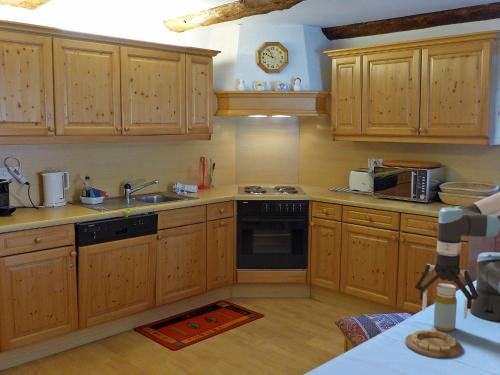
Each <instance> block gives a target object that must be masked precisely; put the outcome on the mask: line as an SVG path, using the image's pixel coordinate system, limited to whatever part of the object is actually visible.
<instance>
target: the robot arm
mask: <svg viewBox="0 0 500 375" xmlns="http://www.w3.org/2000/svg"><path fill="white" fill-rule="evenodd" d="M499 216H500V191H499V192H496V193H494V194H492V195H490V196H487V197H485V198H482V199H481V200H478V201H475V202H473V203H471V204H468V205H465V206H455V207H448V206H447V207H442V208H440V210H439V213H438V219H437V224H438V226H437V242H436V252H437V253H436V256H435V257H436V258H435V265H433V264H431V263H430V262H429V263H427V264H426V266H425V271H424V272H423V274H422V275H421V277H420V278H419V280H418V281H417V283H416V284H415V287H414V289H416V290H418V291H419V300H420V301H422V305H421V306H422V307H421V310H422V311H424V312H425V311H426V310H427V302H428V290H427V289H428V288H429V287H430V286H431V285H432V284H433V283H435V281H437V280H438V279H440V280H441V281H448V282H454V284H456V287H458V288H459V290H460V291H461V293H462V294H463V296H464V297H465V299H464V305H463V307H464V308H463V319H465V320H467V318H468V312H469V313H471V314H472V315H473V316H475V317H477V318H479V319H483V320H487V321H488V320H489V321H494V322H500V252H495V251H493V252H491V251H490V252H489V251H488V252H487V251H486V252H481V253H480V252H479V254H478V255H477V261H476V264H477V265H476V280H475V281H476V282H475V284H476V285H475V284H474V283H473V280H472V278H471V276H470V275H471V274H470V270H469V269H468V268H466V269H460V263H461V261H460V260H461V255H460V254H461V247H462V237H464V238H465V237H466V238H467V237H471V238H472V237H473V238H474V237H475V238H490V237H491V238H492V237H496V236H497V235H498V234H499V232H500V220H499V218H498V217H499ZM433 270H434V272H435V273H436V274H435V275H434V276H433V277H432V278H431V279H430V280H428V282H426V283H424V285H423V286H422V284H423V282H424V281H425V279H426V278H427V276H428V275H429V273H430V272H432V271H433ZM460 274H461V275H462V277H463V278H464V280H465V282H466V285H467V287H468V288H467V287H466V286H465V284H464V283H463V282H462V280H461V279H460V277H459V275H460ZM474 285H475V286H474ZM468 310H469V311H468Z"/></svg>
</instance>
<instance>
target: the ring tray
mask: <svg viewBox="0 0 500 375" xmlns="http://www.w3.org/2000/svg"><path fill="white" fill-rule="evenodd" d="M404 342H405V343H404V344H405V346H406V347H407V349H409V350H410V351H412V352H414V353H416V354H419V355H422V356H424V357H428V358H429V357H430V358H436V359H447V358H448V359H450V358H454V357H457V356H460V354H462V350H463V346H462V344H461V343H460V342H459V341H458V340H457V339H455V338H454V337H453V336H452V335H450V334H448V333H445V332H443V331H440V330H438V331H437V330H433V329H432V330H429V329H425V330H424V329H423V330H416V331H414V332H413V333H410V334H408V335H407V336H406V337H405V340H404Z"/></svg>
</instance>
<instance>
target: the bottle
mask: <svg viewBox="0 0 500 375" xmlns="http://www.w3.org/2000/svg"><path fill="white" fill-rule="evenodd" d="M456 296H457V285H454V284H451V283H438V284H437V285H436V295H435V298H434V310H433V312H434V313H433V327H434V328H435V329H436V330H438V331H439V332H453V331H454V330H455V329H456V323H457V318H456V317H457V304H458V303H457V302H458V300H457V297H456Z"/></svg>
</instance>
